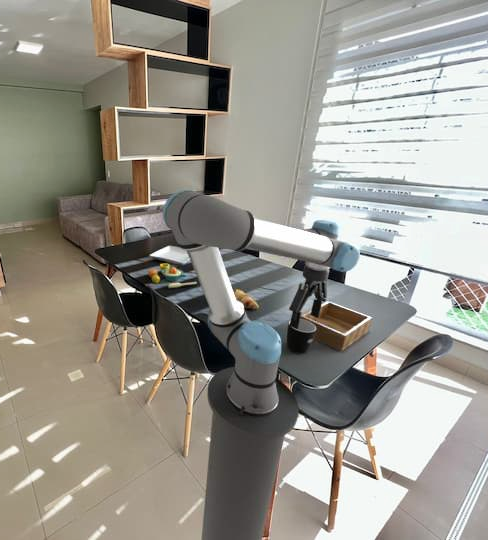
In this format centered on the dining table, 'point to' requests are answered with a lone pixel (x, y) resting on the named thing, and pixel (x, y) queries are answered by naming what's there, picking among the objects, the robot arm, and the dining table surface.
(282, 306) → the dining table surface
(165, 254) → the square plate
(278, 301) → the dining table surface
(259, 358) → the robot arm
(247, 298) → the croissant
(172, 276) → the toy juicer set
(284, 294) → the dining table surface
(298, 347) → the mug
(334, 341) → the crate
